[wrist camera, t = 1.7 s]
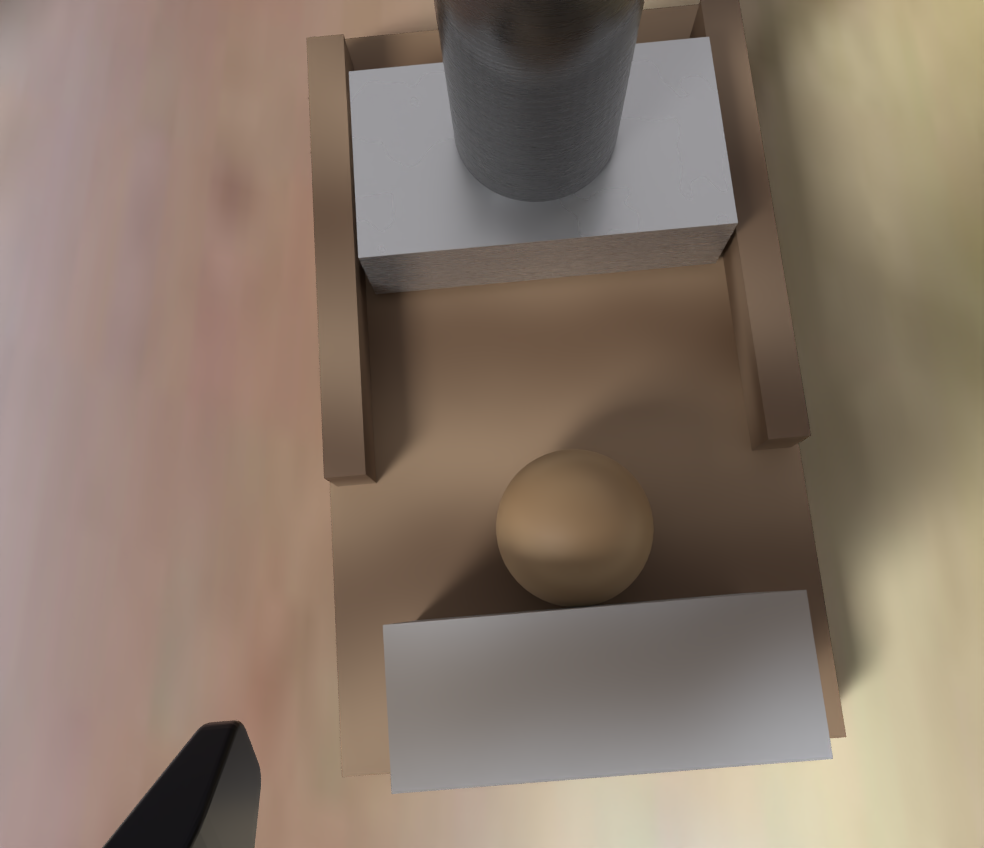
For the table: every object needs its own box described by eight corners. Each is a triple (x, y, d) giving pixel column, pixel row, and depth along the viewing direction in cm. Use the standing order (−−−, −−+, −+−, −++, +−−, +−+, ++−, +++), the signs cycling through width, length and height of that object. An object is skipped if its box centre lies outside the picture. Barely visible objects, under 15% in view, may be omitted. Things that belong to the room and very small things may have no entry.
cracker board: (817, 725, 22) (950, 779, 15) (358, 762, 22) (283, 832, 15) (712, 46, 26) (778, -152, 19) (327, 83, 26) (258, -99, 20)
